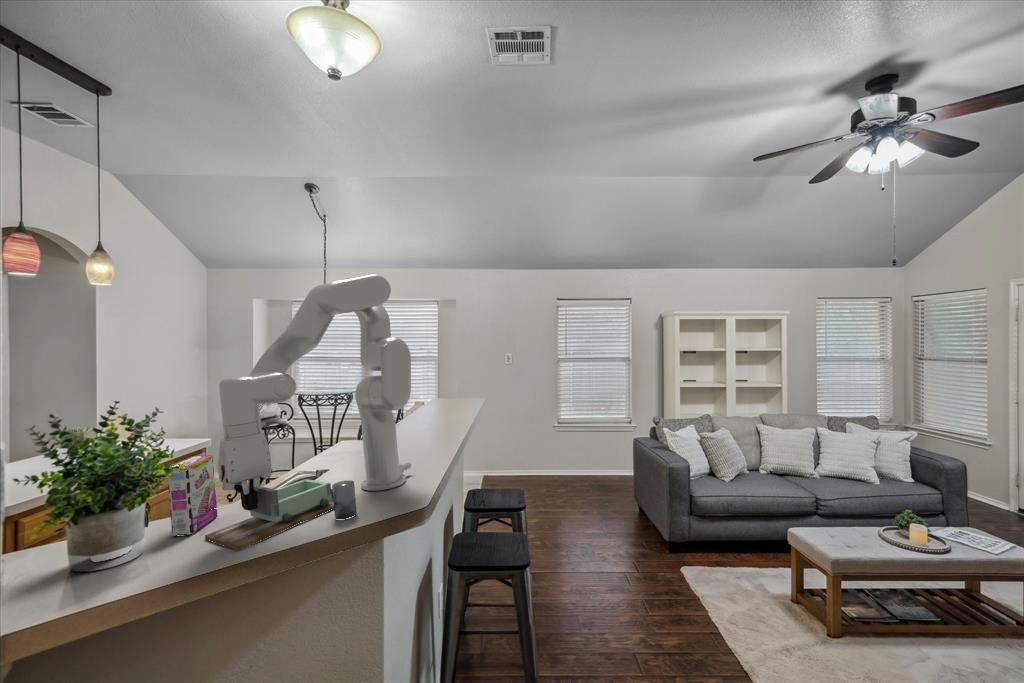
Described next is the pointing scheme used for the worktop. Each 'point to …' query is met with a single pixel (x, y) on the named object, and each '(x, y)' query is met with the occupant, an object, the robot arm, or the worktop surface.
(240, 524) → the track
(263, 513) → the toy truck
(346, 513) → the metal cylinder
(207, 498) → the candy bar box
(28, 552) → the worktop surface
